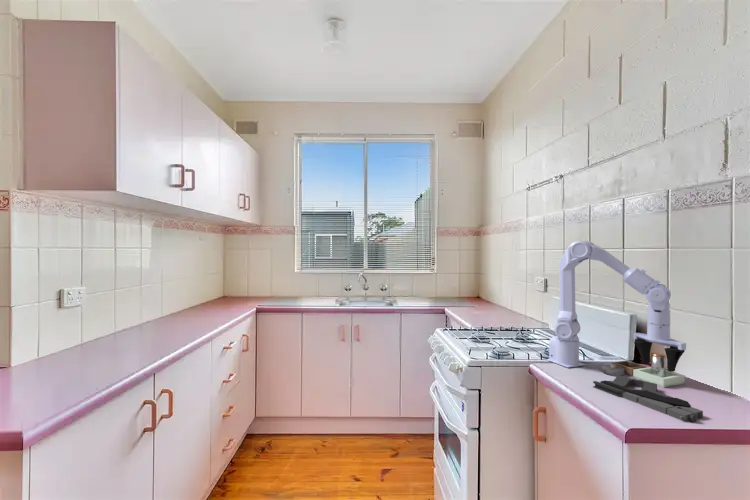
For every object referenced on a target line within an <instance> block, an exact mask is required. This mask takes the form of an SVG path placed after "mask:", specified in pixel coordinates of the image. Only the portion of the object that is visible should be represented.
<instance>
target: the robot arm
mask: <svg viewBox="0 0 750 500" xmlns="http://www.w3.org/2000/svg"><path fill="white" fill-rule="evenodd" d="M586 260H592V261H599V262H601V263H603V264H604V265H605V266H608V268H611V269H612V270H614V271H615V272H616V273H618V274H620V275H621V276H622V277H623V281H624V283H625V284H627V285H628V286H630V287H631V288H632V289H634V290H635V291H636V292H638V293H640V294H641V295H645V298H646V300H647V301H648V302H647V304H648V305H647V309H646V312H647V313H646V314H647V315H646V317H647V318H646V319H647V321H646V322H647V323H646V333H642V332H633V340H634V342H633V343H634V345H635V347H636V349H637V351H638V353H639V356H640V358H641V362H642V365H649V364H650V362H651V349H652V347H653V346H652V345H653V344H657V345H661V346H665V348H664V352H665V355H666V370H667V371H669V372H675V371H676V367H677V364H678V362H679V360H680V359H681V357H682V356H683V354H684V353H685V350H687V343H686V342H683V341H679V340H676V339H673V338H671V309H670V307H671V304H670V299H671V296H672V292H671V290H670V289H669V288H668V286H666V284H664V283H661V281H660V280H659V279H656V280H655V279H654V278H652V277H651V276H650V275H648V274H647V273H646V272H647V271H646V270H644V269H643V268H642V269H639V268H638V267H633V268H631V267H629V266H628V265H627V264H625V263H624V262H622V261H621V260H620V259H618V258H617V257H616V256H615V255H613V254H612V253H610V252H609V251H607V250H606V249H604V248H602V247H601V246H599V245H598V244H594V243H593V242H592V241H590V240H589V241H588V240H576V241H574V242H572V243H571V244H570V245H569V246H567V248H566V250H565V252H564V253H563V255H562V256H561V258H560V259H559V262H558V280H559V282H558V285H559V286H558V287H559V289H558V290H559V291H558V292H559V293H558V294H559V313H558V315H557V318H556V320H557V322H556V324H555V326H554V333H555V336H552V337H550V341H549V345H548V346H549V349H548V350H549V352H548V353H549V358H547V361H549V362H552V363H554V364H557V365H560V366H562V367H564V368H569V369H570V368H575V367H582V366H583V367H584V366H586V364H585V363H583V362H580V337H579V336H578V334H579V333H580V331H581V324H580V322H579V321H578V315H577V312H576V271H575V270H576V269H575V268H576V267H578V266H579V265H580V264H581V263H583V261H586Z"/></svg>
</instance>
